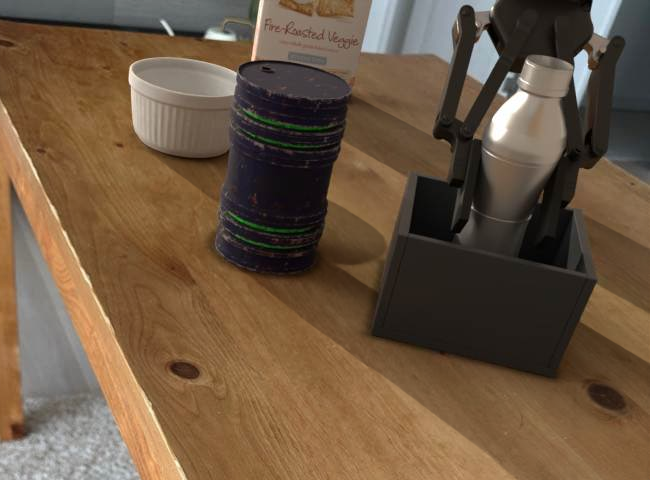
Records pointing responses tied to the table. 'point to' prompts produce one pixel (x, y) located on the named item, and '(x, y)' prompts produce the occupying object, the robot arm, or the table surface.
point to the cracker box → (313, 33)
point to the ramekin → (182, 105)
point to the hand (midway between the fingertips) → (501, 234)
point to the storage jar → (280, 164)
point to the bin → (482, 285)
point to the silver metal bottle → (518, 157)
